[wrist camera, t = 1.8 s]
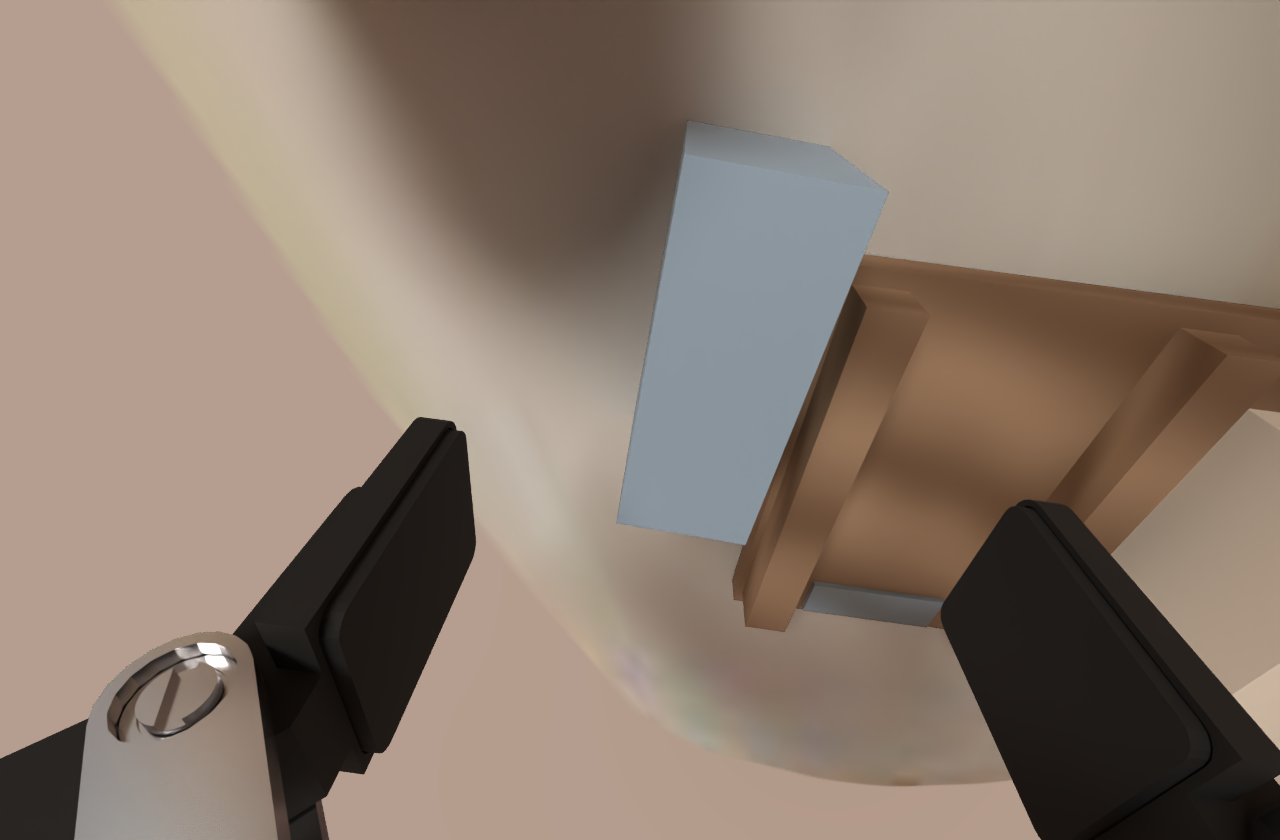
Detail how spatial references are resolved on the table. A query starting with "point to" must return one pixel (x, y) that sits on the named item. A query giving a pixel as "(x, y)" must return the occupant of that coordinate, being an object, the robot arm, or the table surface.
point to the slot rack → (987, 428)
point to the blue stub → (739, 323)
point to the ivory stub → (1222, 563)
